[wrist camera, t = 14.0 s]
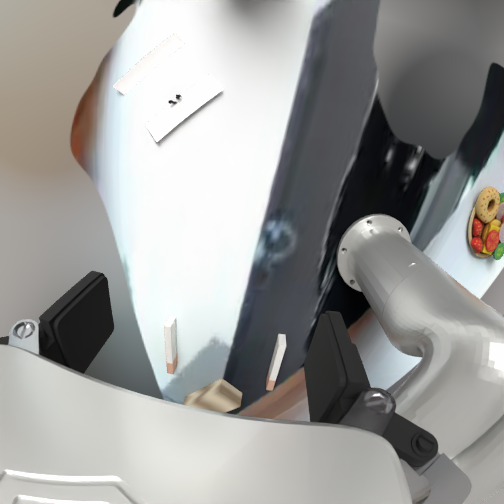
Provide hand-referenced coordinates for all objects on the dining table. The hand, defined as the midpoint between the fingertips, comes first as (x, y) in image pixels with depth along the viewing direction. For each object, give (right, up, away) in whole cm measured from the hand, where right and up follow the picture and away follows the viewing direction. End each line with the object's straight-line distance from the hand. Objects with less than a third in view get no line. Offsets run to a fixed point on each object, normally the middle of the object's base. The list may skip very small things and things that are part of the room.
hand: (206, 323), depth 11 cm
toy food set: (+46, +8, +25) cm, 53 cm away
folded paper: (-10, +26, +21) cm, 35 cm away
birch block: (-7, -28, +42) cm, 51 cm away
